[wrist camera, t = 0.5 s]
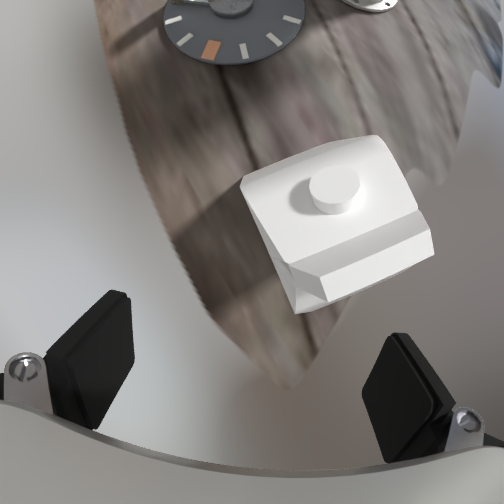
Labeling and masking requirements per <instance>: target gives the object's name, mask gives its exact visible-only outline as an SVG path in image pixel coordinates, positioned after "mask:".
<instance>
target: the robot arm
mask: <svg viewBox="0 0 504 504" xmlns="http://www.w3.org/2000/svg"><path fill="white" fill-rule="evenodd" d="M341 1H343V2H345V3H347V4H348V5H351V6H353V7H355V8H358V9H361V10H364V11H369V12H385V11H388V10H390V9H392V8H393V7H394V6H395V5H396V3H397V2H398V0H341ZM46 353H47V354H46V356H45V357H44V358H43V359H42V358H41V357H40V356H38V355H37V354H34V353H20V354H17V355H15V356H13V357H12V358H10V359H9V361H8V362H7V363H6V365H5V369H4V373H0V504H504V442H503V441H501V440H499V439H497V438H494V437H492V436H490V435H487V434H486V433H484V422H483V419H482V418H481V416H480V415H479V414H478V413H477V412H476V411H474V410H472V409H470V408H466V407H461V408H458V409H457V410H456V411H454V413H453V412H452V410H451V409H452V408H453V406H454V405H455V404H456V402H455V401H454V399H453V397H452V396H451V394H450V393H449V391H448V390H447V388H446V387H445V385H444V384H443V382H442V381H441V379H440V378H439V376H438V375H437V374H436V372H435V371H434V369H433V368H432V367H431V365H430V364H429V363H428V361H427V359H426V358H425V357H424V355H423V354H422V352H421V351H420V350H419V348H418V347H417V346H416V344H415V343H414V341H413V340H412V339H411V337H410V336H409V335H408V334H406V333H392V334H391V336H388V337H387V339H386V341H385V343H384V345H383V347H382V350H381V352H380V354H379V356H378V358H377V360H376V363H375V365H374V367H373V369H372V371H371V373H370V375H369V377H368V379H367V381H366V383H365V385H364V387H363V389H362V398H363V401H364V403H365V406H366V409H367V412H368V415H369V418H370V420H371V423H372V426H373V429H374V432H375V435H376V438H377V441H378V444H379V447H380V450H381V452H382V456H383V459H384V461H385V462H386V463H388V464H382V465H376V466H368V467H359V468H348V469H334V470H271V469H257V468H245V467H236V466H228V465H221V464H214V463H208V462H203V461H197V460H192V459H187V458H182V457H177V456H173V455H169V454H165V453H161V452H157V451H153V450H150V449H146V448H143V447H139V446H136V445H133V444H130V443H127V442H123V441H120V440H118V439H114V438H111V437H108V436H106V435H103V434H100V433H98V432H95V431H93V429H97V428H98V427H99V426H100V424H101V421H102V420H103V418H104V416H105V414H106V413H107V411H108V409H109V407H110V405H111V404H112V402H113V400H114V398H115V396H116V395H117V393H118V391H119V389H120V387H121V386H122V384H123V382H124V380H125V379H126V377H127V375H128V373H129V372H130V370H131V368H132V366H133V364H134V359H135V355H134V344H133V330H132V313H131V299H130V298H128V297H127V295H126V293H124V292H120V291H116V290H109V291H108V292H107V293H106V294H105V295H104V296H103V297H102V298H101V299H100V300H98V301H97V302H96V303H95V304H94V305H93V306H92V307H91V308H90V309H89V310H88V311H87V312H86V313H85V314H84V315H83V316H82V317H81V318H79V319H78V321H76V322H75V323H74V325H72V326H71V327H70V328H69V329H68V330H67V331H66V333H64V334H63V335H62V336H61V337H60V338H59V339H58V340H57V341H56V342H55V343H54V344H53V345H52V346H51V347H50V349H49V350H48V351H47V352H46Z"/></svg>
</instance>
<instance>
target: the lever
mask: <svg viewBox="0 0 504 504" xmlns="http://www.w3.org/2000/svg"><path fill="white" fill-rule="evenodd" d="M169 1H170V3H171V4H173V5H181V4H184V3H187V4H197V5H205V6H210V8H211V11H212V12H213V13H214V14H215V15H216V16H218V17H220V18H223V19H237V18H241V17H243V16H245V15H247V14H248V13H249V12H250V11H251V10H252V9H253V7H254V0H169Z"/></svg>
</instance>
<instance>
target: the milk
mask: <svg viewBox="0 0 504 504" xmlns="http://www.w3.org/2000/svg"><path fill="white" fill-rule="evenodd" d="M240 189H241V191H242V194H243V196H244V198H245V200H246V202H247V205H248V207H249V209H250V211H251V214H252V216H253V218H254V221H255V223H256V225H257V227H258V230H259V232H260V234H261V236H262V239H263V241H264V243H265V246H266V248H267V250H268V252H269V255H270V257H271V259H272V262H273V264H274V266H275V269H276V271H277V273H278V275H279V278H280V280H281V282H282V285H283V287H284V289H285V292H286V294H287V296H288V299H289V301H290V303H291V306H292V308H293V310H294V313H295V314H299V313H305V312H310V311H314V310H316V309H319V308H321V307H324V306H326V305H329V304H331V303H334V302H336V301H339V300H341V299H344V298H346V297H348V296H351V295H353V294H355V293H358V292H360V291H362V290H365V289H367V288H369V287H371V286H373V285H376V284H378V283H380V282H382V281H384V280H387V279H389V278H391V277H393V276H395V275H398V274H400V273H402V272H404V271H405V270H406V269H407V268H409V267H410V266H412V265H414V264H415V263H418V262H420V261H422V260H424V259H426V258H428V257H430V256H432V255H434V249H433V244H432V239H431V233H430V229H429V227H428V225H427V223H426V221H425V219H424V217H423V215H422V213H421V211H420V210H417V209H418V205H417V203H416V201H415V199H414V197H413V194H412V192H411V190H410V188H409V186H408V184H407V182H406V180H405V178H404V176H403V174H402V172H401V171H400V169H399V167H398V165H397V163H396V161H395V159H394V158H393V156H392V154H391V152H390V151H389V149H388V147H387V146H386V144H385V143H384V142H383V140H382V139H381V138H380V137H378V136H377V135H369V136H363V137H357V138H351V139H345V140H339V141H334V142H329V143H325V144H323V145H320V146H317V147H315V148H312V149H309V150H307V151H304V152H301V153H299V154H296V155H294V156H291V157H289V158H286V159H284V160H281V161H279V162H276V163H274V164H271V165H269V166H266V167H264V168H262V169H259V170H257V171H254V172H252V173H250V174H247V175H245V176H243V179H242V182H241V184H240Z"/></svg>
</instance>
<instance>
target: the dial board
mask: <svg viewBox="0 0 504 504" xmlns="http://www.w3.org/2000/svg"><path fill="white" fill-rule="evenodd" d="M304 15H305V5H304V1H303V0H254V7H253V9H252V10H251V11H250V12H249V13H248V14H247V15H245V16H243V17H241V18H237V19H223V18H220V17H218V16H216V15H215V14H214V13H213V12H212V11H211V8H210V6H205V5H197V4H187V3H184V4H181V5H173V4H171V3H170V1H169V0H168V2H167V4H166V7H165V10H164V16H163V22H164V28H165V31H166V33H167V36H168V37H169V39H170V40H171V41H172V43H173V44H174V45H175V46H176V47H177V48H178V49H179V50H180V51H181V52H183V53H184V54H185V55H187V56H189V57H191V58H193V59H196V60H198V61H201V62H205V63H209V64H215V65H240V64H247V63H252V62H256V61H259V60H262V59H265V58H267V57H269V56H272V55H274V54H276V53H277V52H279V51H281V50H282V49H283V48H285V47H286V46H287V45H288V44H289V43H290V42H291V41H292V40H293V39H294V38H295V37H296V35H297V34H298V32H299V30H300V28H301V26H302V23H303V20H304Z"/></svg>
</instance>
